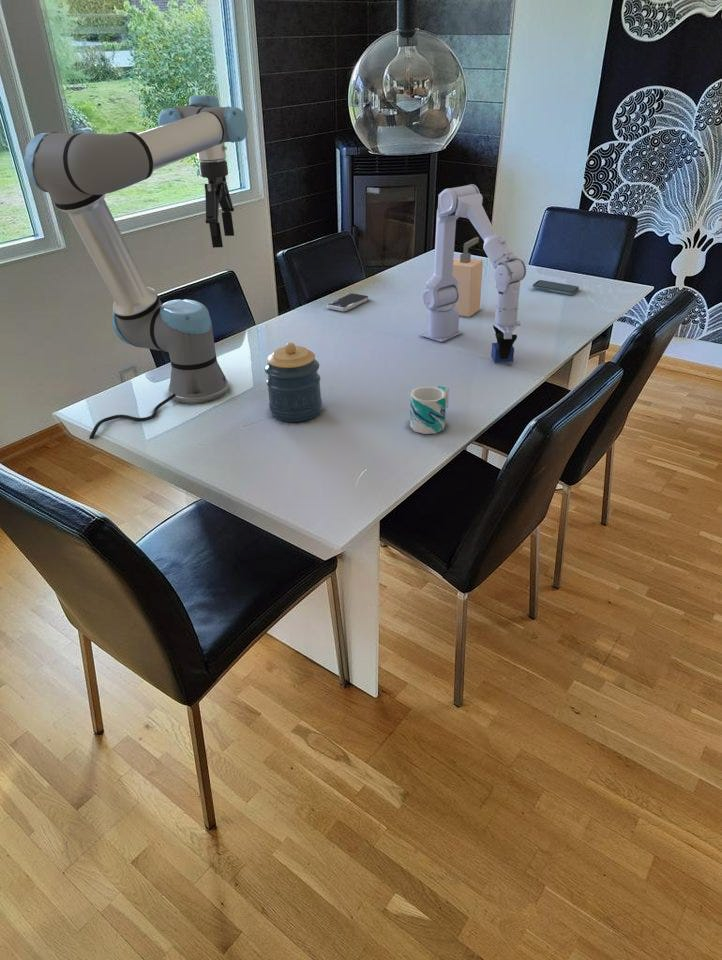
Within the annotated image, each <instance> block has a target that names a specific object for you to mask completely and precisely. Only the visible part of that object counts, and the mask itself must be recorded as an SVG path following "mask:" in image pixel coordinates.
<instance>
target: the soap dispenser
mask: <svg viewBox="0 0 722 960" xmlns="http://www.w3.org/2000/svg"><path fill="white" fill-rule="evenodd" d="M478 243H480V237H478V236H476V237H474V238H472V239H470V240H468V241H466V242H464V243H463V252H462V253H460V257H457V258H455V259H453V274H452V276H453V277H454V278H456V279H457V280H458V290H459V299H458V301H457V302H456V303H455V306H456V307H457V308H458V310H459V317H466V318H469V317H471V316H472V315H474V314H476V313H477V312H478V311H480V309H481V298H482V296H481V294H482V282H483V264H484V261H483V259H476V258H472V253H471V252H469V249H470V248H471V247H473V246H475V245H476V244H478Z"/></svg>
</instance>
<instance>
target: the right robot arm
mask: <svg viewBox="0 0 722 960" xmlns="http://www.w3.org/2000/svg"><path fill="white" fill-rule="evenodd" d="M480 192H481V191H480V190H479V188H478V186H477V185H476V184H473V183H470V184H468V185H463V186H456V187H450V188H449V187H448V188H445V189H443V190H442V191H441V192H440V193H439V194H438V195H437V196H438V199H437V209H436V223H435V241H434V259H433V275H432V276H431V277H429V279H428V280H427V281H426V282H425V288H424V291H423V294H422V299H423V300H422V301H423V304H424V305H425V307H426V309H427V310H428V318H427V319H428V321H427V322H428V323H427V327H428V328H427V332H424V333H423V334H421V337H422V338H427V339H429V340H432V341H436V342H439V343H443V342H446V341H449V340H450V339H452V338H455V337H457V336H459V335H460V334H461V333H462V332H461V331H459V329H460V327H459V326H460V315H459V310H458V308H457V307H456V306H455V303H456V302H457V301H458V299H459V290H458V280H457V279H456V278H454V277H453V276H452V274H453V260H455V259H454V257H455V245H456V244H455V243H456V242H455V241H456V229H457V221H458V219H459V218H464V219H468V220H469V222H470V223H471V224H472V226H473V228H474V229H475V230H476V232H477V233H478V235H479V236H480V237H481V239H482V240H483V247H482V249H483V251H484V253H485V254H486V256H487V258H488V260H489V262H490V263H491V265H492V267H493V268H494V271H493V278H494V281H495V288H496V304H495V315H494V316H495V317H494V321H493V325H492V327H493V330H494V333H495V334H494V335H495V339H496V343H498V345H499V355H500V359H508V357H509V354H510V351H511V348H512V345H513V346H514V343H515V342H516V340H517V339H518V335H517V334H513V333H514V331H515V329H516V328H517V327H521V326H522V322H521V321H520V320H518V310H519V299H520V288H521V281H523V280H524V279H525V277H526V275H527V267H526V264H525V262H524V260H523V259H522V258H520V257H517V255H514V253H513V252H512V250H511V248H510V246H509V245H508V242H507V239H506V238H505V237H504V236H503V235H501V234H497V233H496V231H495V229H494V227H493V224H492V223H491V221H490V219H489V217H488V215H487V212H486V210H485V208H484V206H483V198H484V197H483V195H482V193H480Z"/></svg>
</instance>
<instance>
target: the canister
mask: <svg viewBox="0 0 722 960" xmlns="http://www.w3.org/2000/svg"><path fill="white" fill-rule="evenodd" d="M266 360H267V364H265V367H264V372H265V373H266V375H267V378H266V382H265V383H266V385H267V393H268V400H269V402H268V406H269V410H270V413H271V415H272V417H273V418H275V419H276V420H279V421H282V422H288V423H289V422H290V423H296V422H297V423H298V422H304V421H308V420H311V419H313V418H315V417H317V416H318V415H319V414H320V413H321V411H322V408H323V399H322V392H321V376H320V374H319V372H318V370H319V369H320V363H319V361H318V360H317V359H316V354H315V352H313V351H312V350H309V349H308V348H306V347H304V346H299V345H296V344H294V343H293V342H287V343H286V344H285V346H283V347H279V348H277V349H275V350H274V351H273V352H272V353H270V354H269V355H268V356H267V359H266Z"/></svg>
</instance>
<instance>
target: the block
mask: <svg viewBox="0 0 722 960" xmlns="http://www.w3.org/2000/svg"><path fill="white" fill-rule="evenodd" d="M514 356H515V346H514V344H513V345H512V348H511V351H510V354H509V357H508V359H500V355H499V345H498V343H497V342H492V343H491V353H490V358H491V359H492V361H493V362H494V363H495V364H501V363H514V358H515V357H514Z"/></svg>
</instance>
